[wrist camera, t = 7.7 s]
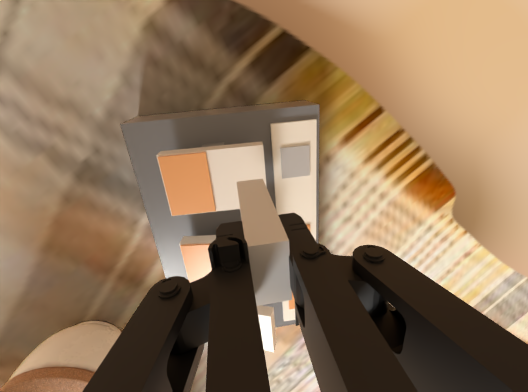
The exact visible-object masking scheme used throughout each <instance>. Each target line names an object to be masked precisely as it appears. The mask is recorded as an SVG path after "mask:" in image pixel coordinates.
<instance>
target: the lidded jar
mask: <svg viewBox="0 0 528 392" xmlns="http://www.w3.org/2000/svg"><path fill="white" fill-rule="evenodd" d="M120 334H121V330H120V329H118V328H117V327H116V326H114V325H112V324H110V323H107V322H103V321H86V322H82V323H79V324H77V325H75V326H72V327H69V328H65V329H63V330H61V331H59V332H57V333H55V334H53V335H52V336H50V337H49V338H47V339H46V340H45V341H43V342H42V343H41V344H40V345H38V346H37V347H36V348H35V349H34V350H33V351H32V352H31V353H30V354H29V355H28V356H27V357H26V358H25V359H24V361H23V362H22V363H21V364H20V365H19V366H18V368H17V369H16V370H15V372H14V373H13V374H12V376H11V377H10V378H9V380H8V381H7V382H6V383H5V384H4V385H3V386H2V387H1V388H0V392H82V391H83V390H84V388H85V387H86V385H87V384H88V382H89V381H90V379H91V378H92V376H93V375H94V373H95V372H96V370H97V369H98V367H99V366H100V364H101V363H102V361H103V360H104V358H105V357H106V355H107V354H108V352H109V351H110V349H111V348H112V346H113V345H114V343H115V341H116V340H117V338H118V337H119V335H120Z"/></svg>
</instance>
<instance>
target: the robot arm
mask: <svg viewBox="0 0 528 392" xmlns="http://www.w3.org/2000/svg"><path fill="white" fill-rule="evenodd" d="M237 190H238V198H239V205H240V213H241V221H236V222H229V223H222V224H220V225H219V227H218V228H217V229H216V240H214V241H213V242H212V243H211V244H210V245H209V247H208V253H209V258H210V263H211V268H212V271H211V272H210V273H209V274H207V275H206V276H204V277H202V278H200V279H198V280H196V281H193V282H191V283H190V282H189V280H188V279H186V278H185V277H181V276H173V277H168V278H166V279H163V280H161V281H159V282H158V283H156V284H155V285H154V286H153V287H152V288H151V289H150V290H149V292H148V293H147V295H146V296H145V298H144V299H143V301H142V302H141V304H140V305H139V307H138V308H137V310H136V311H135V313H134V314H133V316H132V317H131V319H130V320H129V322H128V323H127V325H126V326H125V328H124V329H123V331H122V332H121V334H120V335H119V337H118V338H117V340H116V341H115V343H114V345H113V346H112V348H111V349H110V351H109V352H108V354H107V355H106V357H105V358H104V360H103V361H102V363H101V364H100V366H99V367H98V369H97V370H96V372H95V373H94V375H93V376H92V378H91V379H90V381H89V382H88V384H87V385H86V387H85V388H84V390H83V391H82V392H190V389H191V386H192V383H193V380H194V377H195V374H196V371H197V368H198V365H199V361H200V358H201V355H202V352H203V349H204V343H206V342H208V355H207V375H206V392H270V386H269V380H268V374H267V367H266V361H265V355H264V349H263V342H262V336H261V330H260V324H259V317H258V311H257V306H260V305H266V304H271V303H277V302H283V301H289V300H292V293H293V296H294V299H295V320H296V326H297V325H299V324H300V327H301V331H302V334H303V337H304V340H305V343H306V346H307V349H308V353H309V356H310V359H311V362H312V365H313V368H314V372H315V375H316V378H317V381H318V384H319V387H320V390H321V392H528V344H526V343H525V342H523V341H522V340H520V339H519V338H517V337H516V336H514V335H513V334H511V333H510V332H508V331H507V330H505V329H504V328H502V327H501V326H499V325H498V324H496V323H495V322H494V321H492V320H491V319H489V318H488V317H486V316H485V315H483V314H482V313H480V312H479V311H477V310H476V309H474V308H473V307H471V306H470V305H468V304H467V303H465V302H464V301H462V300H461V299H459V298H458V297H456V296H455V295H454V294H452V293H451V292H449V291H448V290H446V289H445V288H443V287H442V286H440V285H439V284H437V283H436V282H434V281H433V280H431V279H430V278H428V277H427V276H425V275H424V274H422V273H421V272H419V271H418V270H416V269H415V268H414V267H412V266H411V265H409V264H408V263H406V262H405V261H403V260H402V259H400V258H399V257H397V256H396V255H394V254H393V253H391V252H390V251H388V250H386V249H384V248H382V247H379V246H375V245H363V246H359V247H358V248H356V249H355V250H354V252H353V256H339V255H333V254H331V253H330V252H329V250H328V249H327V248H326V247H325V246H323V245H321V244H317V242H316V241H315V239H314V237H313V236H312V234H311V232H310V231H309V229H308V227H307V225H306V224H305V222H304V220H303V219H302V217H301V216H299V215H297V214H296V213H288V214H280V215H278V213H277V211H276V209H275V206H274V204H273V202H272V199H271V197H270V195H269V192H268V190H267V188H266V185H265V183H264V180H263V179H255V180H247V181H239V182H237ZM388 302H389V303H390V304H391V305H392V306H391V305H390V304H389V303H388ZM393 306H394V307H395V308H394V307H393Z"/></svg>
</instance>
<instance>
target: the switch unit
mask: <svg viewBox="0 0 528 392" xmlns="http://www.w3.org/2000/svg"><path fill="white" fill-rule="evenodd" d="M120 125H121V129H122V132H123V135H124V139H125V142H126V146H127V149H128V152H129V156H130V159H131V162H132V166H133V169H134V173H135V176H136V179H137V183H138V186H139V189H140V193H141V196H142V200H143V203H144V206H145V210H146V213H147V216H148V220H149V223H150V227H151V230H152V233H153V237H154V240H155V243H156V247H157V250H158V254H159V257H160V260H161V264H162V267H163V270H164V274H165V277H166V278H168V277H173V276H181V277H185V278H186V279H188V277H187V273H186V269H185V265H184V261H183V257H182V253H181V249H180V245H179V243H180V241H181V240H182V238H183V236H204V235H216V229H217V228H218V227H219V225H220V224H222V223H229V222H236V221H241V213H240V209H234V210H225V211H216V212H206V213H197V214H188V215H178V216H172V215H171V211H170V208H169V204H168V200H167V196H166V192H165V188H164V184H163V180H162V176H161V172H160V168H159V164H158V160H157V156H156V155H157V154H158V153H159V152H160V151H168V150H178V149H189V148H199V147H209V146H220V145H230V144H240V143H251V142H261V141H262V143H263V149H264V161H265V174H266V186H267V190H268V192H269V195H270V197H271V199H272V202H273V204H274V206H275V209H276V211H277V213H278V215H280V214H288V213H296V214H297V215H299V216H301V217H302V219H303V220H304V222H305V224H306V225H307V227H308V229H309V231H310V232H311V234H312V236H313V237H314V239H315V241H316V242H317V244H318V223H319V104H316V103H313V102H309V101H306V100H301V101H291V102H280V103H270V104H260V105H249V106H239V107H229V108H218V109H208V110H197V111H187V112H177V113H166V114H156V115H145V116H137V117H135V118H133V119H130V120H128V121H126V122H124V123H121V124H120ZM263 306H269V307H274V319H275V327H281V326H286V325H292V324H296V320H295V299H294V296H293V293H292V300H289V301H283V302H277V303H271V304H266V305H263Z"/></svg>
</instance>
